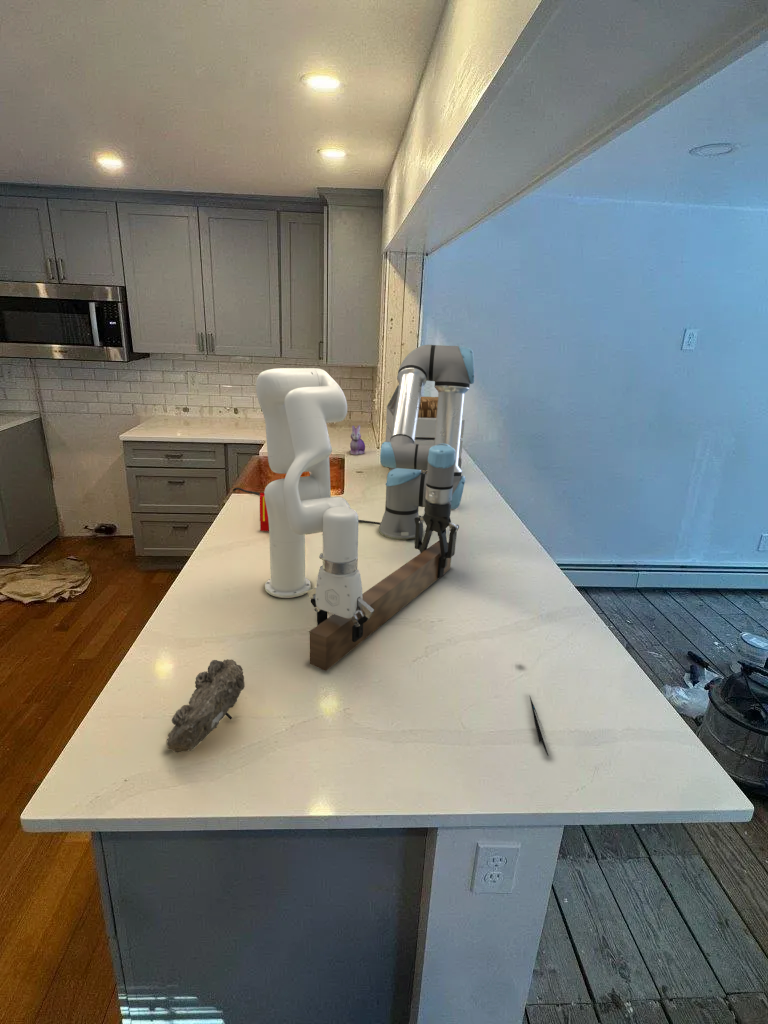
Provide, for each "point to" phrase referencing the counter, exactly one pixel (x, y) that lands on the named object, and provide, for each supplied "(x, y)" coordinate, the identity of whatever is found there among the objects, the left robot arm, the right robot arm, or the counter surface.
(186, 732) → the fossil
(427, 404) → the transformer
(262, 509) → the toy
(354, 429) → the figurine
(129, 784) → the counter surface
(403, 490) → the right robot arm
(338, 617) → the post
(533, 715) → the feather
